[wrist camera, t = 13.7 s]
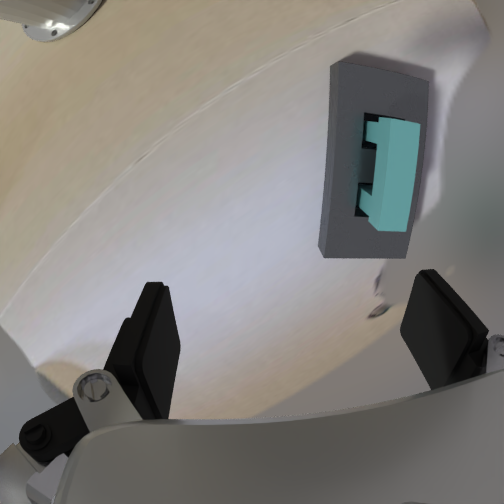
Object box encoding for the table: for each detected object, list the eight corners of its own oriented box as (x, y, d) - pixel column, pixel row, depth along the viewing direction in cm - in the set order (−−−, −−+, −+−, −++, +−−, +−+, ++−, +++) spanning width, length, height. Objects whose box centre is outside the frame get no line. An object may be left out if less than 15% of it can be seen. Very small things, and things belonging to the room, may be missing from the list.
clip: (359, 115, 28) (390, 118, 21) (385, 119, 28) (420, 124, 22) (352, 205, 33) (377, 230, 26) (376, 206, 33) (405, 231, 26)
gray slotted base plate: (330, 65, 26) (338, 61, 23) (414, 82, 26) (428, 81, 24) (318, 246, 35) (323, 258, 32) (395, 247, 35) (405, 258, 32)
